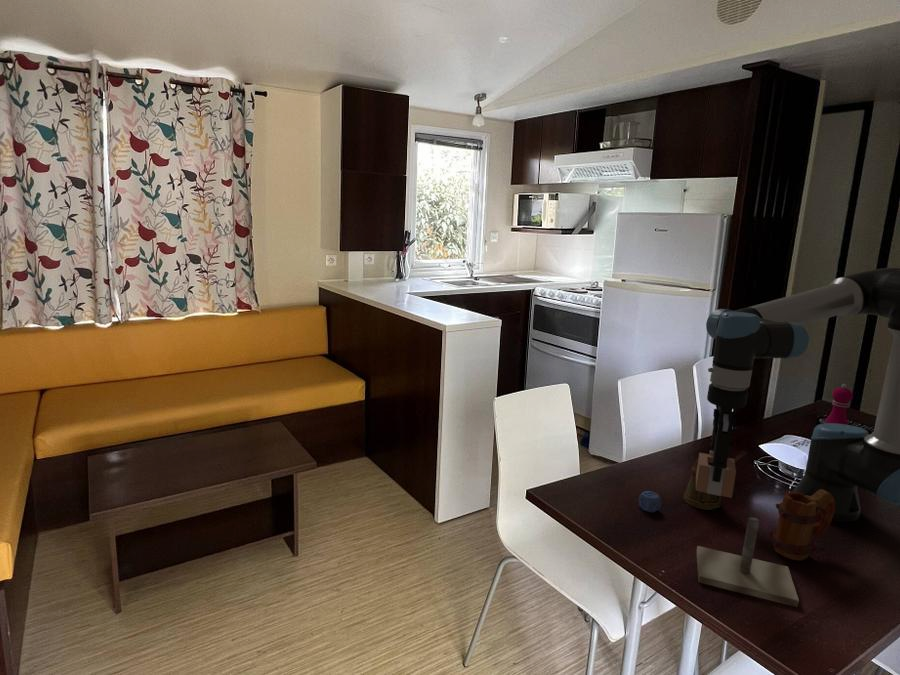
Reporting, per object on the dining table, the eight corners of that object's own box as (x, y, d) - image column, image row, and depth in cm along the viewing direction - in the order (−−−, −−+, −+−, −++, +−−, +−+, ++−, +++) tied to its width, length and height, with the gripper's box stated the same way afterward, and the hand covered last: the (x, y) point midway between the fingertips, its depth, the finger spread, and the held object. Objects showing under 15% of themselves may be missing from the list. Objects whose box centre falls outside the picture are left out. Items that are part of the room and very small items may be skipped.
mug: (788, 567, 123) (800, 505, 120) (758, 546, 131) (769, 487, 128) (839, 559, 128) (852, 498, 124) (807, 539, 135) (819, 481, 132)
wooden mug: (727, 521, 141) (739, 455, 138) (677, 500, 151) (686, 437, 147) (743, 511, 147) (754, 446, 143) (693, 490, 157) (702, 430, 153)
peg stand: (786, 572, 122) (797, 516, 119) (797, 607, 111) (810, 545, 108) (696, 551, 128) (705, 497, 125) (698, 582, 117) (707, 523, 114)
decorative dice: (637, 505, 148) (639, 491, 147) (650, 504, 149) (652, 490, 148) (646, 513, 144) (648, 499, 143) (660, 511, 145) (662, 497, 144)
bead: (729, 484, 125) (733, 459, 124) (731, 497, 119) (736, 471, 117) (695, 477, 128) (699, 452, 126) (695, 490, 121) (699, 464, 120)
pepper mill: (825, 431, 208) (836, 379, 204) (848, 438, 202) (860, 385, 198) (818, 435, 203) (829, 383, 199) (842, 442, 198) (853, 388, 194)
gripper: (708, 371, 128) (694, 464, 133) (710, 396, 110) (694, 502, 115) (744, 376, 126) (729, 471, 131) (753, 402, 108) (735, 511, 113)
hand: (713, 486), depth 123 cm, fingers closed on bead, 7 cm apart
